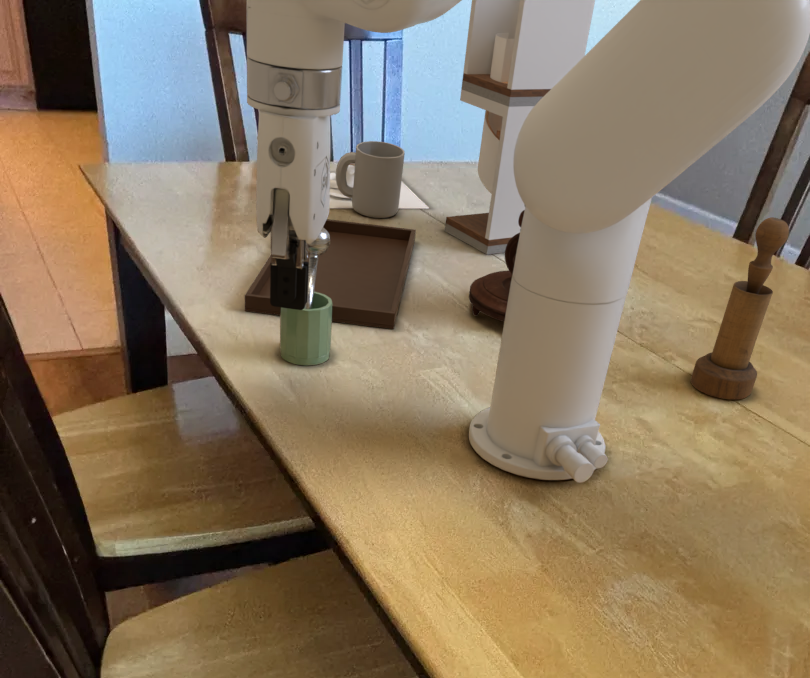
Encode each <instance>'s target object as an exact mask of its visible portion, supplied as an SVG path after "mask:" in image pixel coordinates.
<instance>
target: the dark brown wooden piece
mask: <svg viewBox="0 0 810 678" xmlns="http://www.w3.org/2000/svg"><path fill="white" fill-rule="evenodd" d="M524 205H525V204H524ZM525 207H526V206H525ZM524 211H525V210H523V211H522V212H521V214H520V216H519V220H518V223H519V226H520V227H521V226H522V221H523V216H524ZM520 231H521V229H520ZM519 236H520V233H518V234H516V235H514V236H513V237H512V238H511V239H510V240H509V242H508V244H507V246H506V249H505V252H504V262H505V265H506V267H507V269H508V270H499V271H494V272H491V273H488V274H486V275H484V276H483V275H482V276H481V277H479V278H477V279H475V280H474V281H472V283H471V284H470V286H469V293H468V299H469V302H470V304H471V311H472V314H473V316H475V317H478V316H479V314H480V313H482V314H484V315H486V316H488V317H489V318H492V319H494V320H497V321H500V322H503V323H504V321H505V315H506V309H507V303H508V297H509V291H510V285H511V280H512V275H513V270H514V264H515V258H516V252H517V247H518V241H519Z"/></svg>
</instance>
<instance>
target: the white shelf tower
mask: <svg viewBox="0 0 810 678" xmlns="http://www.w3.org/2000/svg"><path fill="white" fill-rule="evenodd" d="M595 3H596V0H471V4H470V6H471V7H470V14H469V22H468V30H467V38H466V48H465V55H464V65H463V72H462V73H463V74H462V81H461V89H460V100H459V101H461V102H463V103H466V104H468V105H471V106H474V107H476V108H478V109H482V110H484V111H485V112H484V118H483V125H482V132H481V133H482V134H481V141H480V148H479V156H478V163H477V174H478V177H479V180H480V181H481V183H482V185H483V187H484V188H485V189H486V191H488V192H489V193H490V194H491V196H490V202H489V210H488V212H480V213H473V214H472V213H471V214H462V215H451V216H446V217H445V223H444V232H446V233H447V234H449V235H451V236H453V237H455V238H457V239H458V240H460V241H461V242H464V243H465V244H467V245H469V246H470V247H472V248H474V249H476V250H478V251H479V252H481V253H483V254H485V255H493V254H503V253H505V249H506V246H507V244H508V242H509V240H510V239H511V238H512V237H513V236H514V235H516V234H518V233H520V229H521V227H520V226H519V223H518V220H519V216H520V214H521V212H522V211H523V210H525V205H524V203H523V201H522V199H521V197H520V195H519V192H518V189H517V186H516V182H515V177H514V168H513V160H514V150H515V145H516V141H517V137H518V134H519V132H520V129H521V127H522V125H523V123H524V121H525V119H526V117H527V116H528V114H529V113H530V111H531V110H532V109H533V107H534V106H535V105H536V104H537V103H538V102H539V101H540V99H542V98H543V97H544V96H545V95H546V94H547V93H548V92H549V91H550V90H551V89H552V88H553V87H554V86H555V85H556V84H557V83H558V82H559V81H560V80H561V79H562V78H563V77H564V76H565V75H566V74H567V73H568V72H569V71H570V70H571V69H572V68H573V67H574V66H575V65H576V64H577V63H578V62H579V61H580V60H581V59H582V58H583V57H584V56H585V55H586V51H587V45H588V40H589V35H590V30H591V24H592V20H593V15H594V8H595Z"/></svg>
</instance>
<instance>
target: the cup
mask: <svg viewBox="0 0 810 678" xmlns="http://www.w3.org/2000/svg"><path fill="white" fill-rule="evenodd" d="M405 153H406V151H405V150H404V148H402V147H401V146H399V145H396V144H393V143H390V142H386V141H378V140H368V141H367V140H366V141H362V142H360V143H357V144H356V146H355V152H354V151H350V152H346V153H344V154H343V155H342V156H340V158H339V160H338V161H337V165H336V168H335V173H336V183H337V186H338V189H339V190H340V192H341V193H342V194H343V195H344V196H346V197H348V198H352V206H353V208H352V209H353V210H354V211H355V212H356V213H358V214H359V215H362V216H365V217H368V218H373V219H374V218H375V219H386V218H391V217H393V216H395V215H396V214H397V212H398V211H399V208H398V207H399V199H400V190H401V181H402V180H403V173H404V165H405V164H404V163H405ZM352 164H354V166H355V170H354V183H353V188H352V187H349V186H348V184H347V180H346V172H347V168H348V166H349V165H352ZM402 182H403V181H402Z"/></svg>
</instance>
